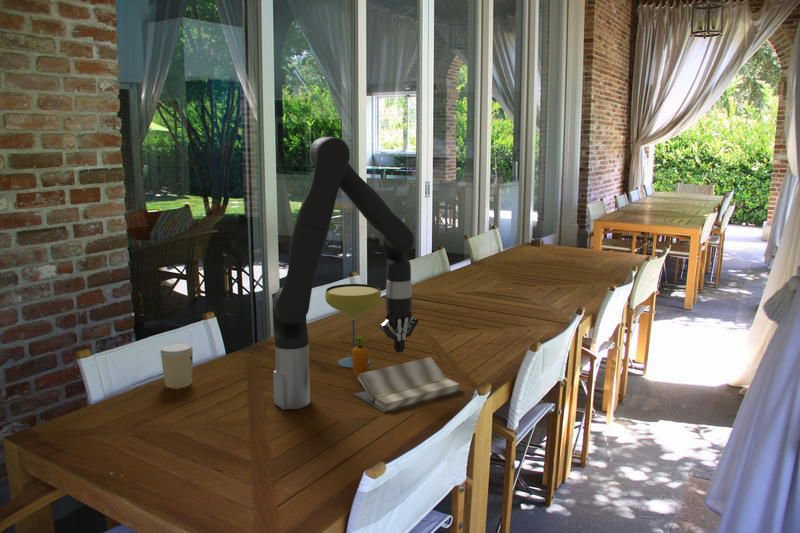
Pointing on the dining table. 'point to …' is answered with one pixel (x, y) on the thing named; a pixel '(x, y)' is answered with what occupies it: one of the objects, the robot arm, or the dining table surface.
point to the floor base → (411, 395)
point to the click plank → (400, 377)
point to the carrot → (360, 357)
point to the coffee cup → (177, 364)
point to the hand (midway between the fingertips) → (399, 351)
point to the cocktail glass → (352, 305)
